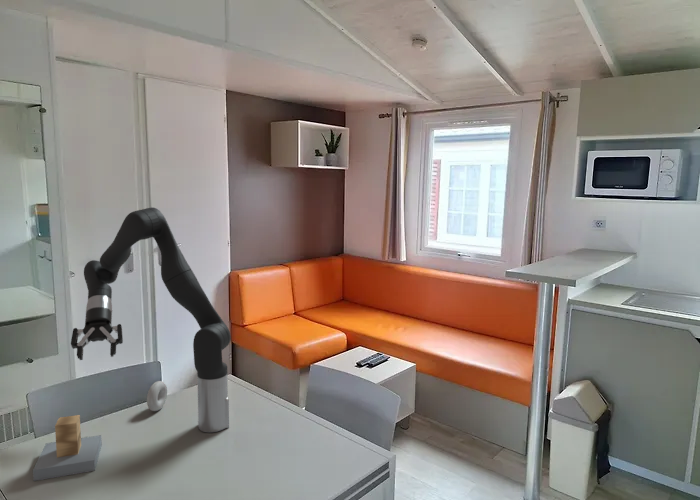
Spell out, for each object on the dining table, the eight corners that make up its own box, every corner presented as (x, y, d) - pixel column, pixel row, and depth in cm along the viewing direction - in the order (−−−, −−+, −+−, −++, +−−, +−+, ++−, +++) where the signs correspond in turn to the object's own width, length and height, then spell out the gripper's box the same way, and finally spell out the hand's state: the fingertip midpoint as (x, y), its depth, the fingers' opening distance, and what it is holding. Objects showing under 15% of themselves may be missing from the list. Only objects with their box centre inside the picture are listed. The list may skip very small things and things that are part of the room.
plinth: (101, 444, 139) (101, 435, 139) (94, 470, 126) (94, 460, 126) (46, 453, 134) (46, 443, 134) (33, 481, 121) (32, 470, 121)
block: (81, 445, 133) (79, 414, 132) (78, 454, 128) (76, 423, 127) (60, 448, 131) (59, 417, 130) (56, 457, 127) (55, 425, 126)
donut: (154, 416, 157) (153, 388, 156) (145, 416, 157) (144, 387, 156) (169, 403, 167) (168, 376, 166) (160, 403, 167) (159, 376, 166)
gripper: (72, 308, 149) (67, 354, 140) (121, 304, 154) (120, 348, 145) (76, 320, 154) (72, 365, 145) (124, 316, 160) (123, 359, 150)
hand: (96, 357), depth 145 cm, fingers open, 8 cm apart
